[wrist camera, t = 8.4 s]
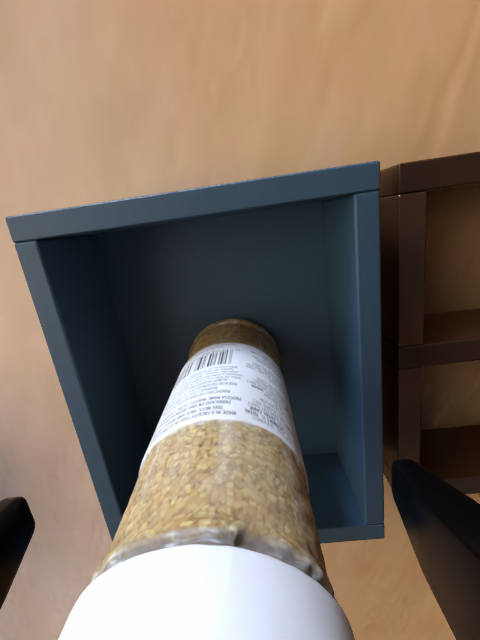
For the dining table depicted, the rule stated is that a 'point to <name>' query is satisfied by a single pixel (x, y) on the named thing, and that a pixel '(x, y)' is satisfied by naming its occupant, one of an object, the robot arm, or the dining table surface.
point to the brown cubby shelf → (421, 324)
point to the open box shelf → (219, 304)
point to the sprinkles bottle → (217, 514)
